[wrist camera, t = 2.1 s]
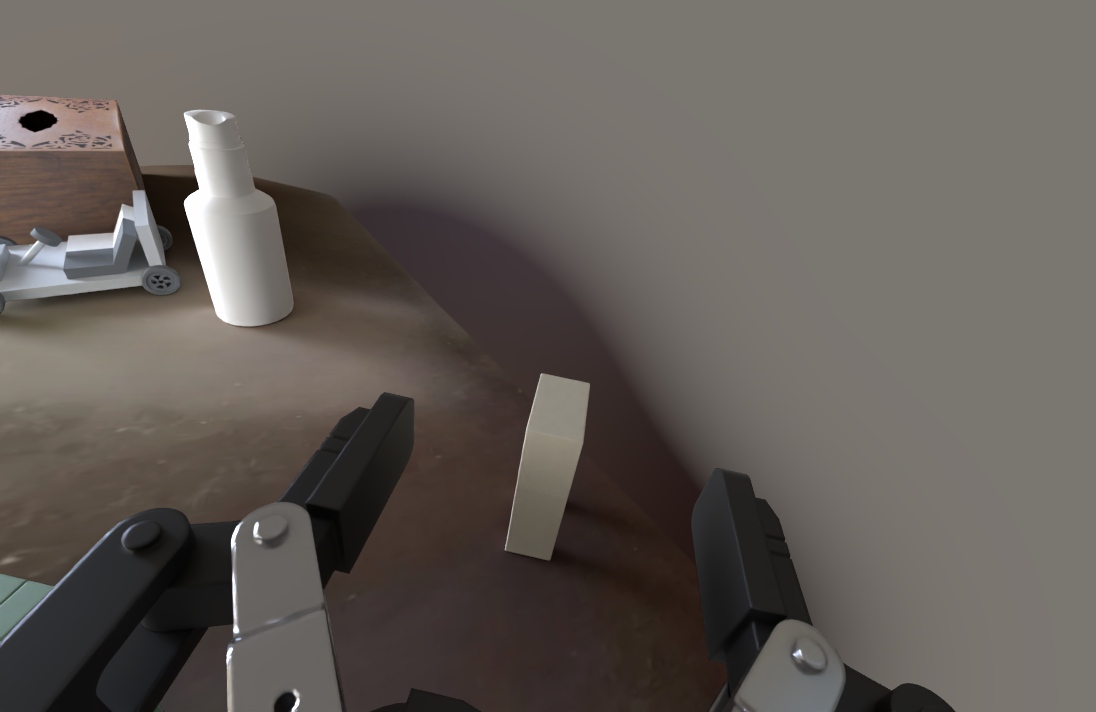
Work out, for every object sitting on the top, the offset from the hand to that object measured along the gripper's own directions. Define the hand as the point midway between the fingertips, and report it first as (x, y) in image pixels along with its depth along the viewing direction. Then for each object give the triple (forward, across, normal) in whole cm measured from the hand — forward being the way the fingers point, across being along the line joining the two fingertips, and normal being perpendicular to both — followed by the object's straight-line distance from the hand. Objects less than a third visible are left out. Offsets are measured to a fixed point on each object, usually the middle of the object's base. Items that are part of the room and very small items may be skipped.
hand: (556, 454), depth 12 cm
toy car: (+27, +50, +19) cm, 60 cm away
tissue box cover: (+42, +65, +19) cm, 80 cm away
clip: (+11, 0, +19) cm, 22 cm away
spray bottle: (+29, +32, +19) cm, 47 cm away
